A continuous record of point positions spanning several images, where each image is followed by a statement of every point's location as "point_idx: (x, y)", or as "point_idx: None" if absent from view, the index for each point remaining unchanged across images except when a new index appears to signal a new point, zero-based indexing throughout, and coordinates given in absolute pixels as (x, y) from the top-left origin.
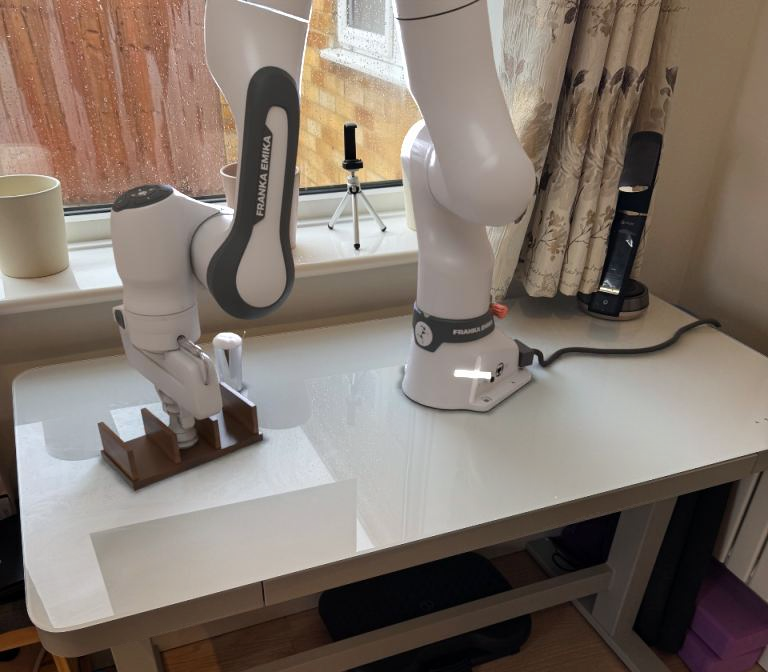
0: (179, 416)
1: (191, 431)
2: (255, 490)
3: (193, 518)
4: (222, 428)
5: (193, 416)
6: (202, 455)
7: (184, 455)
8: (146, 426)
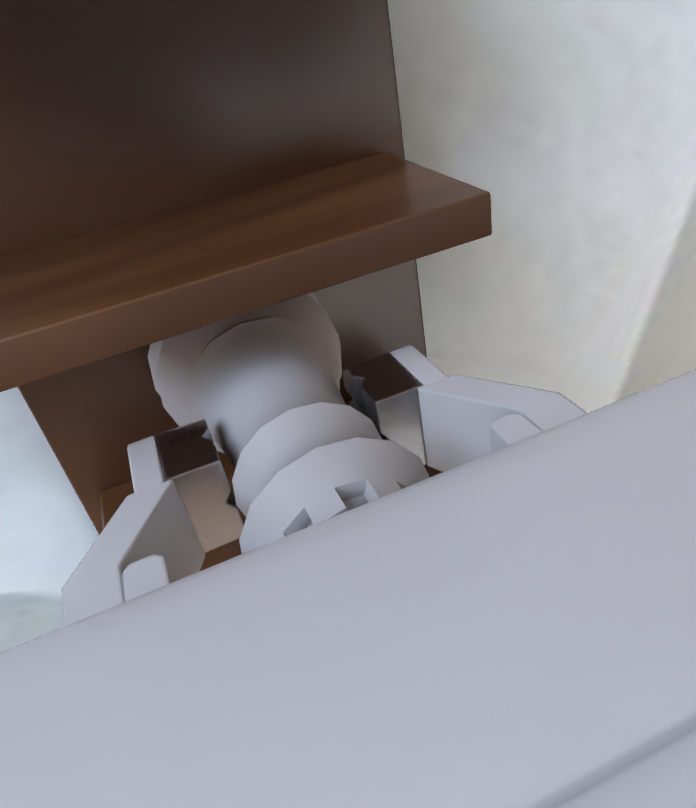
0: (430, 463)
1: (315, 329)
2: (686, 96)
3: (657, 363)
4: (170, 62)
5: (439, 370)
6: (410, 274)
7: (367, 356)
8: None
